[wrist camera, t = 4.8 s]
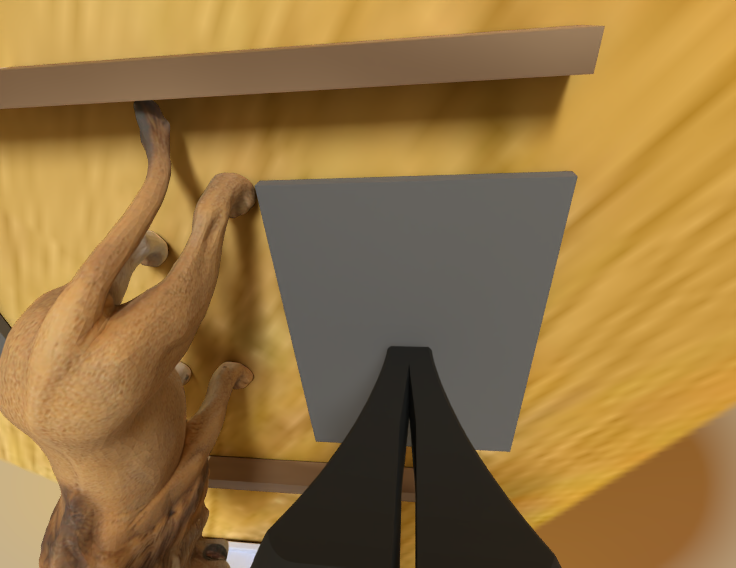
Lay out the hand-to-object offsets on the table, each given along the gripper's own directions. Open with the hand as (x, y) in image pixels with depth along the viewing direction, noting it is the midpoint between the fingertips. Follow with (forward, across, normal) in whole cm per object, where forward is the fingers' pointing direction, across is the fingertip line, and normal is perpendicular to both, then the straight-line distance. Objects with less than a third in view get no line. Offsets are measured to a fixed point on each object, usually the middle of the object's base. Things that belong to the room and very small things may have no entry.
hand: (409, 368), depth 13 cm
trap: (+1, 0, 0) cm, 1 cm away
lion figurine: (+2, +7, -1) cm, 7 cm away
